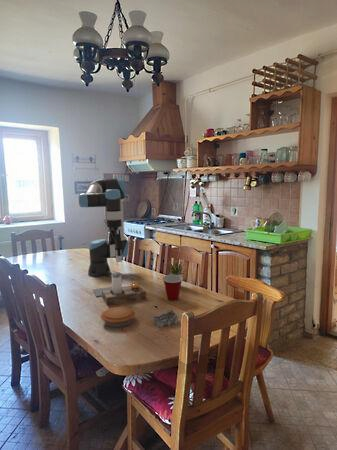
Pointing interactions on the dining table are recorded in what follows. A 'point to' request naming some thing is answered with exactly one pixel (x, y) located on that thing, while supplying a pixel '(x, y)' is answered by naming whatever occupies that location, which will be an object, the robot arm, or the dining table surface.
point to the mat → (100, 291)
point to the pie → (118, 316)
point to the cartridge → (116, 283)
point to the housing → (123, 295)
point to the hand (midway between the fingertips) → (115, 259)
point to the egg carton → (166, 318)
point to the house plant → (176, 269)
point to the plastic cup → (172, 286)
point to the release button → (135, 286)
